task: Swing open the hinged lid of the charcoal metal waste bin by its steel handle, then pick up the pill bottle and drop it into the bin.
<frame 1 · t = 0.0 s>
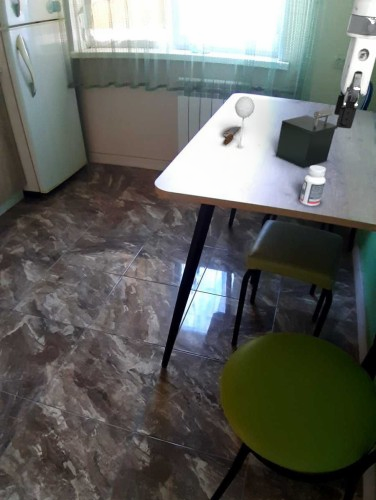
hand: (342, 121, 93), 20 cm above the table, tool pointing down, fingers open, 9 cm apart
bin: (301, 158, 131), on the table
lollipop: (239, 148, 136), on the table
bin lid: (311, 116, 122), point 13 cm above the table, hinge at 0.0°
pill bottle: (309, 202, 108), on the table
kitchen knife: (228, 136, 145), on the table
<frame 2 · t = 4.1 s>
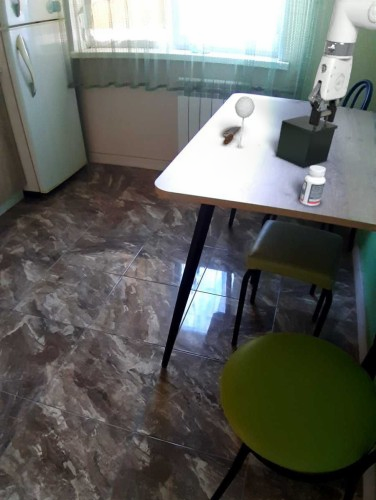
hand: (321, 122, 120), 12 cm above the table, tool pointing down, fingers closed on bin lid, 6 cm apart
bin lid: (311, 116, 122), point 13 cm above the table, hinge at 0.0°, touching gripper
everything else where it was.
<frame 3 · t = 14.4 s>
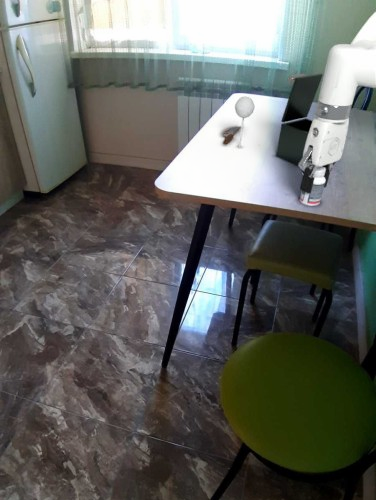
hand: (313, 187, 106), 4 cm above the table, tool pointing down, fingers closed on pill bottle, 5 cm apart
bin lid: (296, 95, 123), point 17 cm above the table, hinge at 78.9°
pill bottle: (309, 202, 108), on the table, touching gripper
everything else where it was.
when the fingers open (11 cm above the table, at t = 21.8 s): pill bottle drops 6 cm, resting on bin.
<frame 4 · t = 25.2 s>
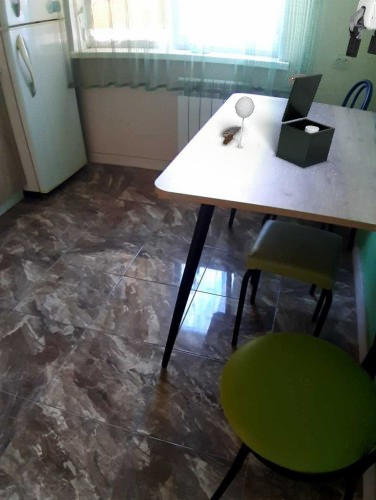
hand: (361, 55, 111), 28 cm above the table, tool pointing down, fingers open, 9 cm apart
pill bottle: (305, 158, 130), point 1 cm above the table, touching bin
everything else where it was.
at the end: bin lid at +79° (first picture: +0°); pill bottle inside the target area in the bin (1.6 cm from its centre), point 0.6 cm above the bin's base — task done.
